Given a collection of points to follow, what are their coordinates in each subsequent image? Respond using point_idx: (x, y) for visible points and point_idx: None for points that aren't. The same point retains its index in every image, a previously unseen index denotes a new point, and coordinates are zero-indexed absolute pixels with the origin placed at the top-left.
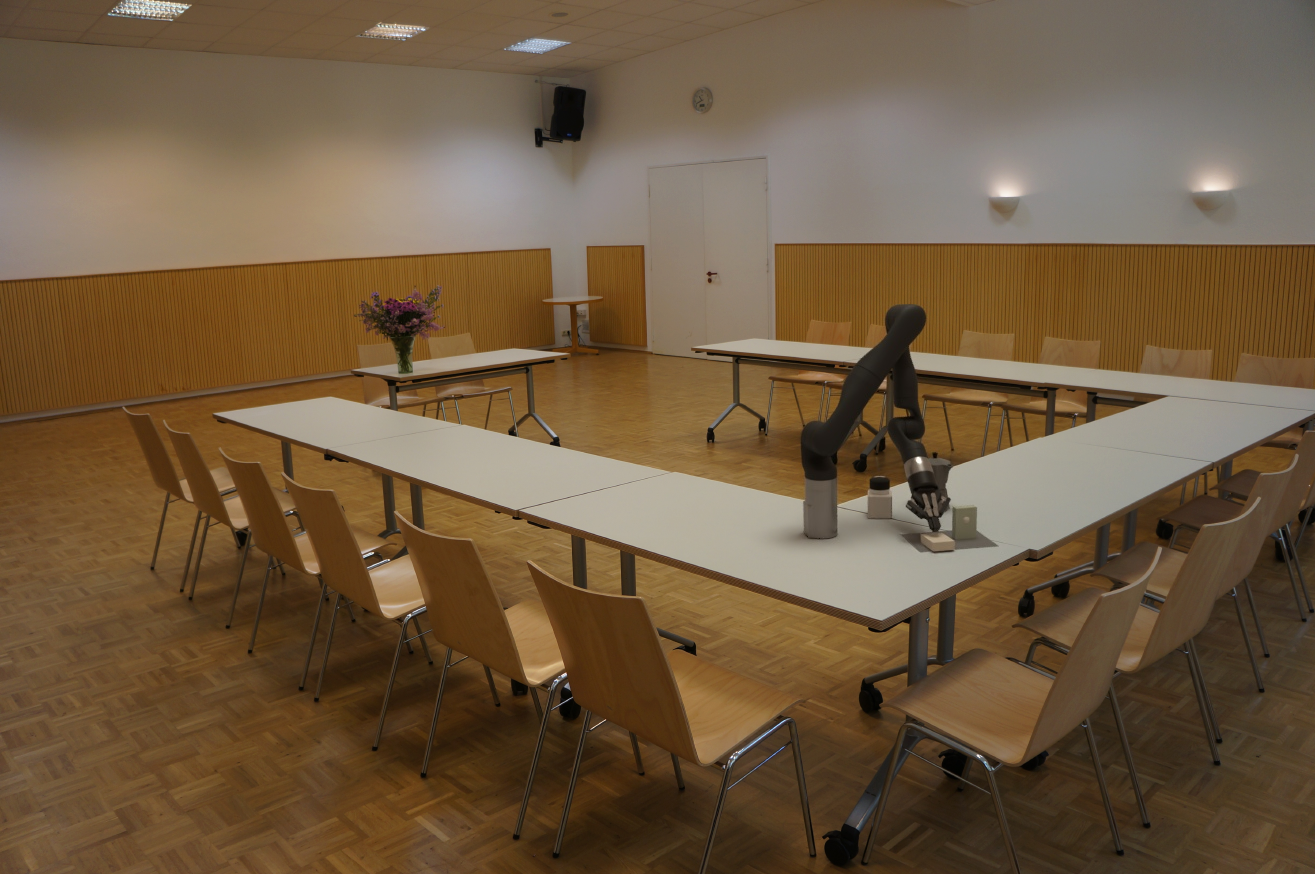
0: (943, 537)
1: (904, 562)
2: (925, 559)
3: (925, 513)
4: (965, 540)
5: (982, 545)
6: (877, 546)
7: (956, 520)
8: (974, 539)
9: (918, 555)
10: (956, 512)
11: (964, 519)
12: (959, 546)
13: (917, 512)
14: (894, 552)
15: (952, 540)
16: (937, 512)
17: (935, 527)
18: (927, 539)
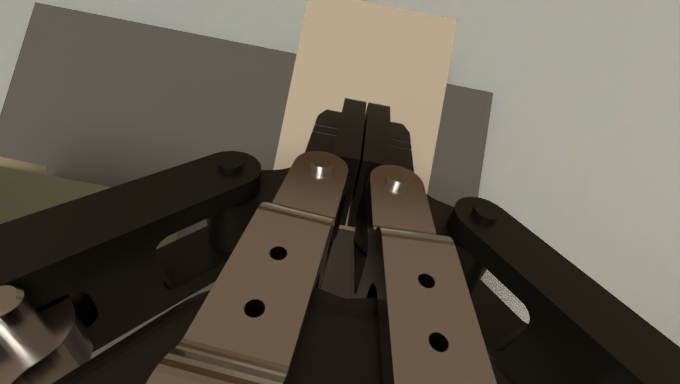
0: (326, 98)
1: (618, 28)
2: (500, 22)
3: (457, 208)
4: (140, 164)
5: (111, 48)
6: (644, 314)
7: (99, 185)
8: (79, 158)
9: (503, 88)
10: (32, 172)
11: (20, 161)
12: (240, 87)
13: (498, 333)
14: (599, 182)
15: (315, 8)
16: (295, 177)
17: (380, 106)
18: (438, 120)
